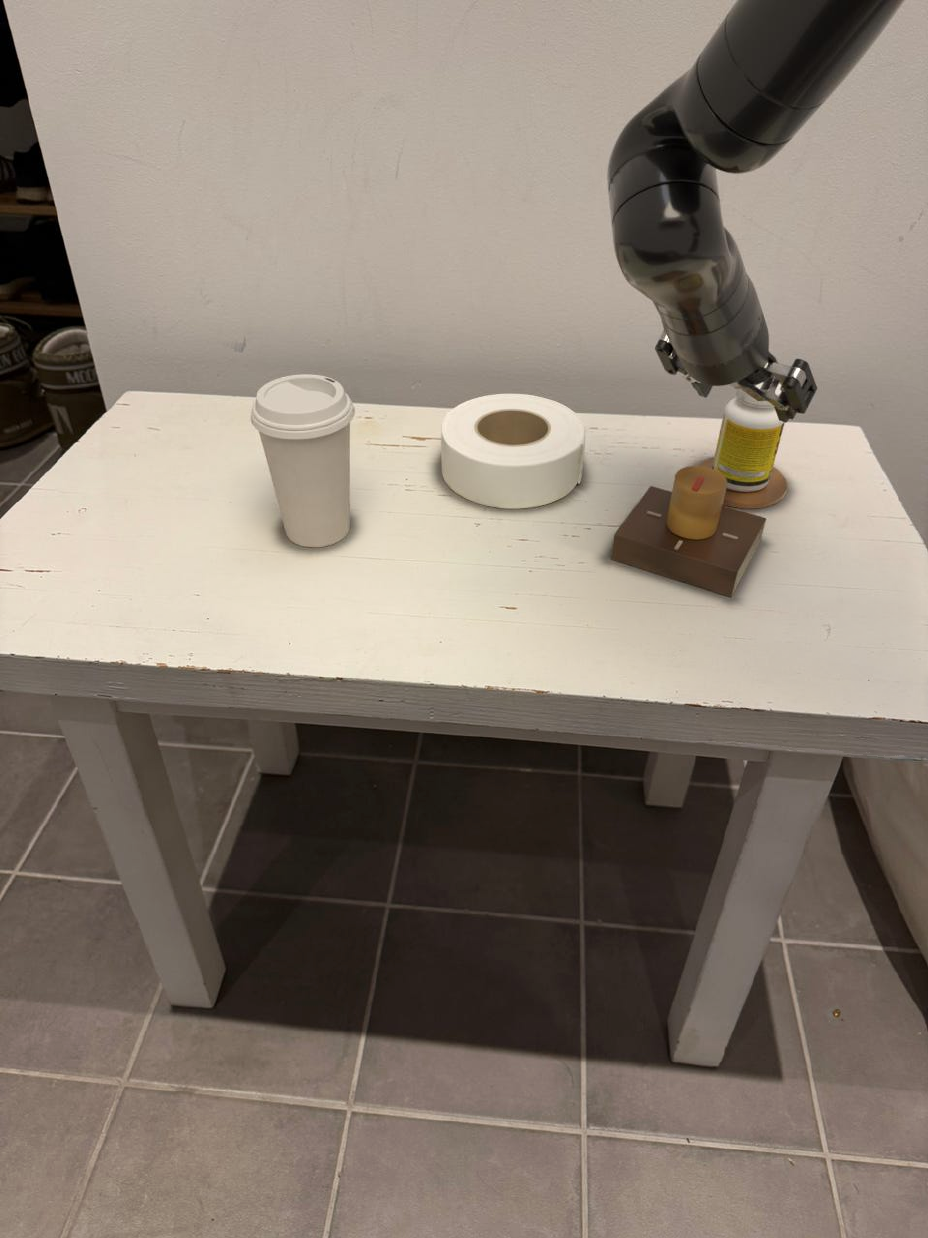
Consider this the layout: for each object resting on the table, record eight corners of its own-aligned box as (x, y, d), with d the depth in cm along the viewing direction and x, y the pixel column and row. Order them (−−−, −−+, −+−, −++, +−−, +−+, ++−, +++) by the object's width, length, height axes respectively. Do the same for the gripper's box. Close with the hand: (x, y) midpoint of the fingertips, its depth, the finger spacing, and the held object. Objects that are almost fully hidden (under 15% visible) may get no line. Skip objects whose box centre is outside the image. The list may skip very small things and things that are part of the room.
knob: (674, 507, 86) (683, 458, 83) (722, 519, 85) (733, 470, 81) (660, 531, 83) (669, 482, 79) (709, 544, 81) (721, 495, 78)
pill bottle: (777, 492, 93) (804, 397, 86) (722, 496, 92) (744, 400, 85) (755, 462, 98) (779, 370, 90) (702, 466, 97) (722, 373, 90)
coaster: (795, 474, 97) (797, 469, 96) (772, 518, 90) (774, 513, 90) (708, 452, 100) (709, 447, 100) (680, 492, 94) (681, 487, 94)
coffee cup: (378, 541, 87) (368, 404, 77) (287, 566, 84) (264, 426, 74) (345, 495, 93) (332, 362, 84) (259, 516, 90) (234, 382, 80)
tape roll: (573, 517, 90) (578, 470, 87) (426, 499, 93) (425, 453, 89) (588, 443, 102) (593, 400, 98) (457, 430, 104) (457, 386, 101)
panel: (760, 542, 87) (767, 516, 85) (731, 597, 80) (738, 570, 78) (646, 509, 91) (650, 484, 89) (610, 559, 85) (614, 532, 83)
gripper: (818, 299, 68) (835, 385, 82) (658, 262, 75) (699, 347, 89) (774, 386, 68) (798, 457, 82) (619, 341, 75) (666, 413, 89)
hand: (746, 400), depth 86 cm, fingers open, 8 cm apart
